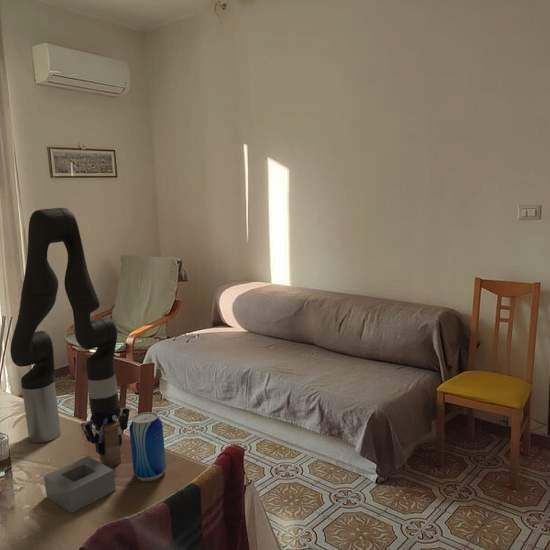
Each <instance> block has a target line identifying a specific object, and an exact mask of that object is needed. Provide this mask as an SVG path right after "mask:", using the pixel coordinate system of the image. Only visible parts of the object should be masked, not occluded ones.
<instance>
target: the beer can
mask: <svg viewBox="0 0 550 550" xmlns="http://www.w3.org/2000/svg"><path fill="white" fill-rule="evenodd" d="M131 421H132V422H130V425H129V428H128V429H129V440H130V450H131V458H132V459H131V460H132V468H133V469H132V470H133V475H134V476H135V477H137V479H138V480H139V481H143V482H150V481H151V482H152V481H155V480H157V479H160V478H161V477H162V476H163V475H164V472H165V471H166V469H167V462H166V449H165V440H164V439H165V438H164V428H163V426H164V425H163V422H162V420H161V419H160V418H159V415H158V413H156V412H151V411H147V412H141V413H138V414H136V415H134V416H133V417H132V418H131Z"/></svg>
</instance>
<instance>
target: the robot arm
mask: <svg viewBox="0 0 550 550" xmlns="http://www.w3.org/2000/svg"><path fill="white" fill-rule="evenodd" d="M27 234H28V235H27V255H26V264H25V269H24V270H25V271H24V276H23V277H24V278H23V281H22V288H21V295H20V303H19V310H18V315H17V320H16V323H15V328H14V330H13V334H12V337H11V341H10V348H9V349H10V357H11V360H12V362H13V364H14V365H15V366H18V367H19V368H20V367H21V368H22V367H29V366H32V365H33V366H32V368H31V369H30V370H29V371H27V372H26V373H25V374H24V375H23V376H22V377H21V378H20V379H21V380H20V384H21V390H22V391H21V392H22V397H23V404H24V405H23V406H24V412H25V420H26V426H27V435H28V441H29V442H30V443H34V444H39V443H42V444H43V443H46V442H50V441H52V440H55V439H57V438H58V437H60V435H61V434H62V432H61V431H62V430H61V423H60V422H61V421H60V415H59V413H60V412H59V407H58V397H57V392H56V384H55V373H56V372H55V371H56V370H55V354H54V346H53V344H54V343H53V341H52V338H51V336H50V335H49V333H48V332H47V331H44V330H39V331H38V330H37V329H38V327H39V326H40V324H41V323H42V322H43V321H44V319H45V318H46V317H47V316H48V315H49V313H50V312H51V310H52V309H53V307H54V306H55V304H56V301H57V295H58V290H59V279H58V277H57V275H56V273H55V271H54V270H53V268H52V267H51V265H50V263H49V260H48V251H49V247H50V245H51V244H55V243H63V244H64V247H65V249H66V253H67V261H66V262H67V263H66V268H65V274H64V280H63V281H64V282H63V283H64V289H65V290H64V291H65V295H66V296H67V299H68V301H69V304H70V306H71V308H72V309H71V310H72V315H73V326H74V335H75V340H76V342H77V343H78V345H79V346H80V347H81V348H82V349H84V350H93V349H96V350H95V352H94V353H92V354H91V355H90V356H88V357H87V358H86V361H85V364H86V365H85V366H86V374H87V376H86V377H87V392H88V400H89V401H88V402H89V409H90V413H91V415H90V419H89V420H88V421H86V422H82V423H81V425H80V426H81V429H82V431H83V434H84V436H85V438H86V441H88V442H89V443H91V444H93V445H95V446H94V447H95V452H96V453H97V454H98V455H99V456H100V455H104V445H103V442H102V440H103V435H104V426H106V425H107V424H109V423H111V422H116V421H117V422H119V423H120V426H121V427H118V435H119V445H120V448H121V447H122V444H123V437H122V434H123V431H126V430H127V429H128V425H129V418H130V417H129V416H130V408H127V407H126V406H122V407H120V402H119V401H120V400H119V392H118V383H117V378H116V372H115V362H114V360H115V359H114V357H115V353H116V346H117V342H118V341H117V340H118V329H117V326H116V324H115V323H114V322H115V321H113V320H112V319H110V318H108V317H102V318H98V319H95V320H92V321H91V314H92V313H94V312H95V311H97V310H98V309H99V308H100V306H101V305H100V301H99V298H98V295H97V292H96V289H95V287H94V284H93V282H92V280H91V276H90V274H89V269H88V265H87V262H86V257H85V256H86V255H85V252H84V246H83V242H82V238H81V233H80V229H79V224H78V222H77V219H76V216H75V215H74V212H72V210H71V209H69V208H67V207H54V208H42V209H41V208H40V209H37V210H35V211H33V212H32V214H31V215H30V217H29V222H28V231H27ZM36 330H37V331H36ZM118 418H119V421H118ZM93 424H94V425H95V426H94V425H93ZM93 426H94V429H93ZM98 428H99V429H101V430H99V429H98Z"/></svg>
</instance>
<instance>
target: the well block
mask: <svg viewBox="0 0 550 550" xmlns="http://www.w3.org/2000/svg"><path fill="white" fill-rule="evenodd" d="M43 478H44V479H43V480H44V485H45V494H46V497H47V498H48V499H50V500H51V501H53V503H56V504H57V505H59V506H60V507H61V508H63V509H64V510H66V511H67V512H69V513H70V514H73V513H75V512H77V511H78V510H81V509H83V508H84V507H86V506H88V505H90V504H92V503H94V502H96V501H98V500H99V499H102V498H104V497H105V496H107V495H109V494H112V493H113V492H114V491H116V482H115V473H114V469H113V468H112V467H110V468H109V467H107V466H105V465H103V464H102V463H101V462H100V461H98V460H96V459H94V458H92V457H91V456H89V455H88V456H84V457H83V458H80V459H78V460H76V461H74V462H71V463H70V464H67V465H64V466H63V467H60V468H58V469H55V470H53V471H51V472H50V473H47V474H45V475H44V476H43Z"/></svg>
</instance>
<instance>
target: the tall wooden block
mask: <svg viewBox="0 0 550 550" xmlns="http://www.w3.org/2000/svg"><path fill="white" fill-rule="evenodd" d="M92 426H94V427H95V425H94V424H92ZM118 427H121V426H120V423H119V421H118V422H117V421H116V422H111V423H109V424H107V425H106V426H104V435H103V440H102V442H103V445H104V455H100V454H99V462H100V463H102V464H103V465H105V466H107V467H109V468H112V467H114V466H116V465H118V464H120V463H122V456H121V447H120V445H119V435H118ZM98 429H99V428H98ZM99 430H101V429H99Z"/></svg>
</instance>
